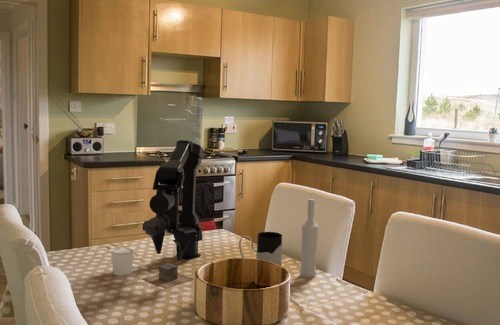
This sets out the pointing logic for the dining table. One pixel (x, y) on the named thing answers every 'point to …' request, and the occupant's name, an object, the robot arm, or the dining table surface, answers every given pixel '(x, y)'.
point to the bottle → (309, 243)
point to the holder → (267, 247)
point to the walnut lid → (168, 277)
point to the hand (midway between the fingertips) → (168, 257)
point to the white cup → (122, 261)
